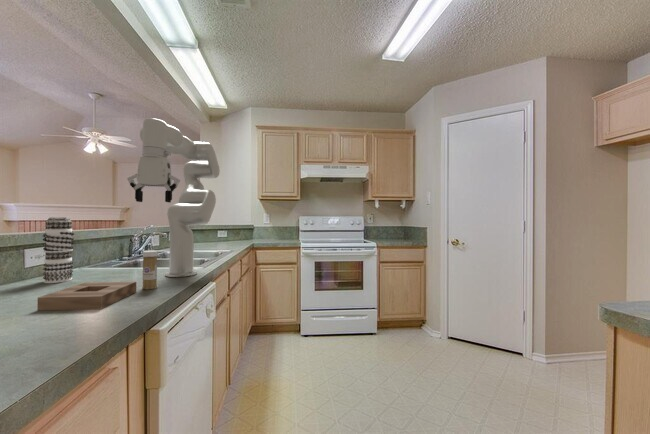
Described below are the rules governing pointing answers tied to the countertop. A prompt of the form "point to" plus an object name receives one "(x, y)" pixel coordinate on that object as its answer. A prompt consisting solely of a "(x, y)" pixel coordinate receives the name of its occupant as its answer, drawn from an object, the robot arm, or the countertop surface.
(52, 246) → the decorative candle
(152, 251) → the sprinkles bottle
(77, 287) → the walnut hole board
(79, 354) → the countertop surface
